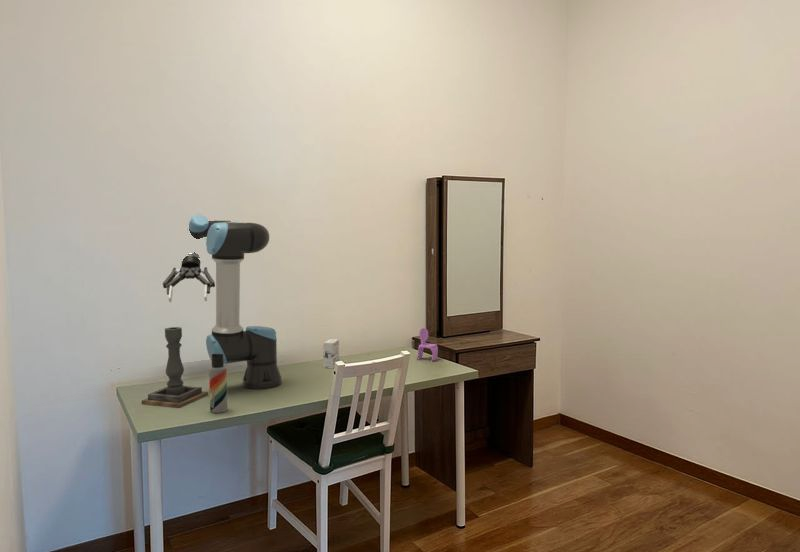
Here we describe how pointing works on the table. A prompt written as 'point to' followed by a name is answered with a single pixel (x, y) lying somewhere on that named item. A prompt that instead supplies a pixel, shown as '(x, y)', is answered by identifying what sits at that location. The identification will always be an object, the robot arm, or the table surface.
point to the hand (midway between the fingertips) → (187, 299)
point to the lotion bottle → (218, 384)
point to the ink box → (331, 352)
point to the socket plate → (175, 397)
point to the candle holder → (174, 361)
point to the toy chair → (426, 345)
